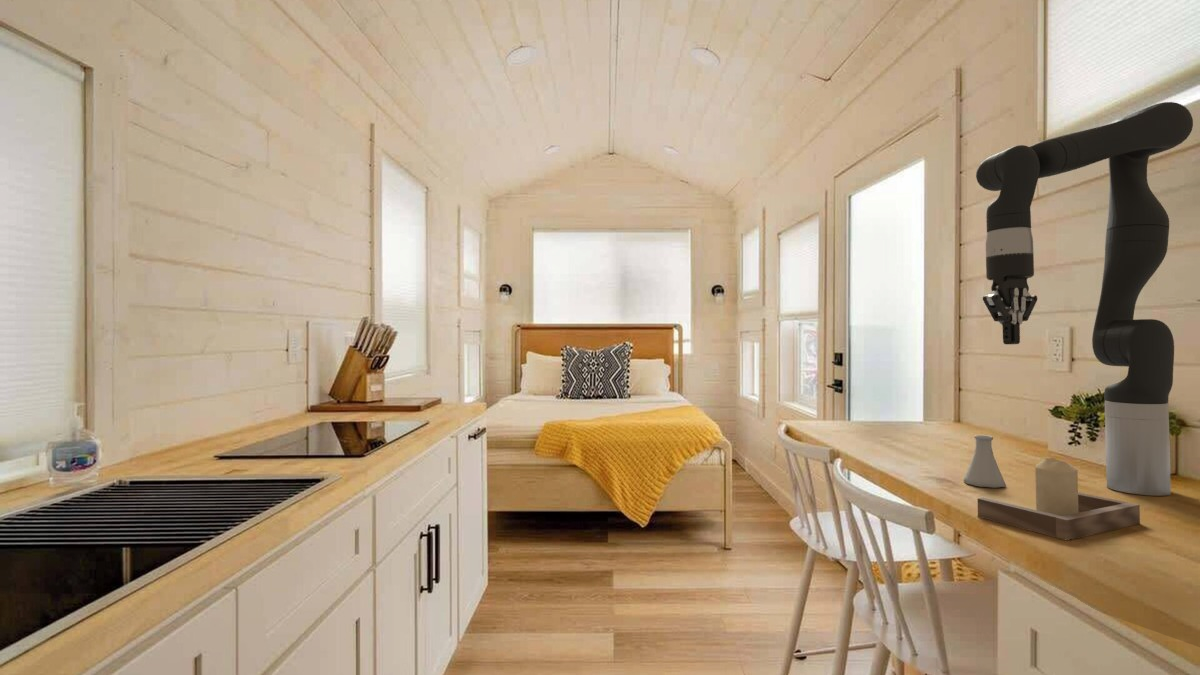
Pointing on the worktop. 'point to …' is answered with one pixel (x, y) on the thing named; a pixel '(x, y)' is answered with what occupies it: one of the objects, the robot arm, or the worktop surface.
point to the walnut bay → (1090, 520)
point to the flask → (984, 465)
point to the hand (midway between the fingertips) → (1011, 344)
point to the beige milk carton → (1056, 487)
